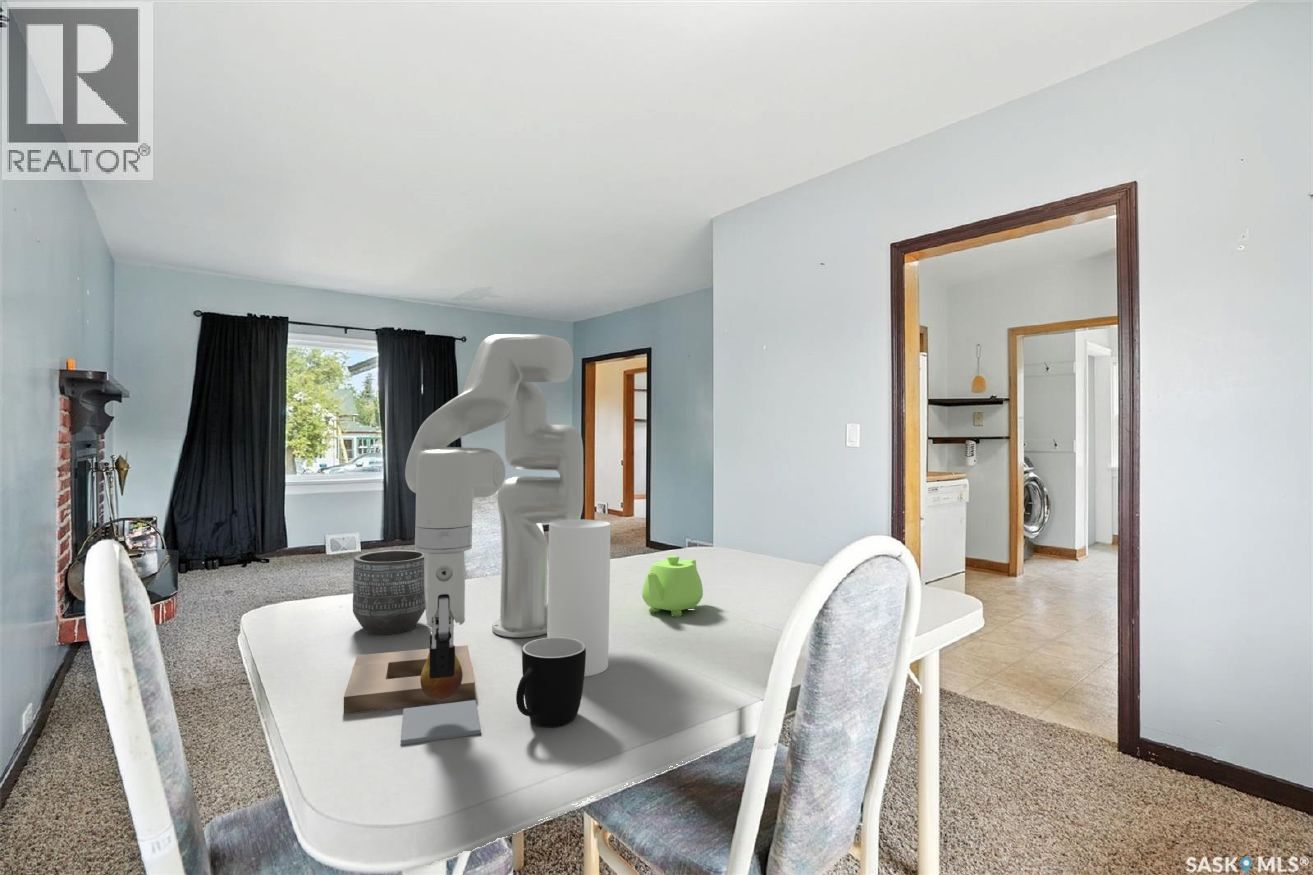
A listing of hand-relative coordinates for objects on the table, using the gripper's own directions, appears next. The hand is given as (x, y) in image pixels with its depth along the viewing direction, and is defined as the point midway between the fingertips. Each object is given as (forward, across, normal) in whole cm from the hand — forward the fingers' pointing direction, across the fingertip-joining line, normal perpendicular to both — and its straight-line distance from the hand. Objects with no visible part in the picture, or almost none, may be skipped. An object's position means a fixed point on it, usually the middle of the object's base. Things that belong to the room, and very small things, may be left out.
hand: (441, 667), depth 88 cm
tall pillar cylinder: (+8, +16, -23) cm, 29 cm away
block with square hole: (+8, +16, +4) cm, 18 cm away
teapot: (+8, +45, -52) cm, 69 cm away
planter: (+8, +49, +9) cm, 51 cm away
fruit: (+4, 0, 0) cm, 4 cm away
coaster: (+8, 0, 0) cm, 8 cm away
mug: (+8, -4, -14) cm, 17 cm away
